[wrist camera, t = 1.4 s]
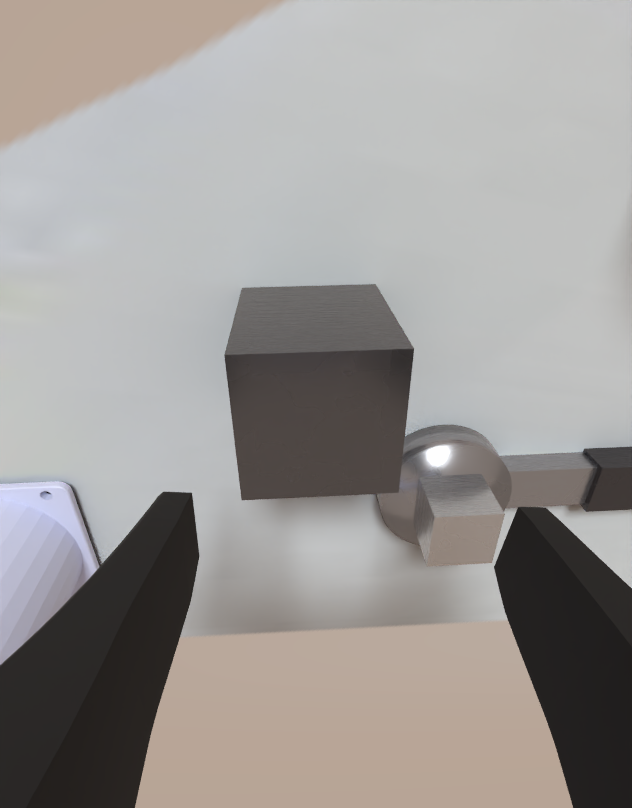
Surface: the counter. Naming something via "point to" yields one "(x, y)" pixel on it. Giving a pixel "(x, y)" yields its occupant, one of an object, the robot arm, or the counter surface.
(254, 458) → the brushed dark grey cube
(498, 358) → the counter surface
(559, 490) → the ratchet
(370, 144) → the counter surface
